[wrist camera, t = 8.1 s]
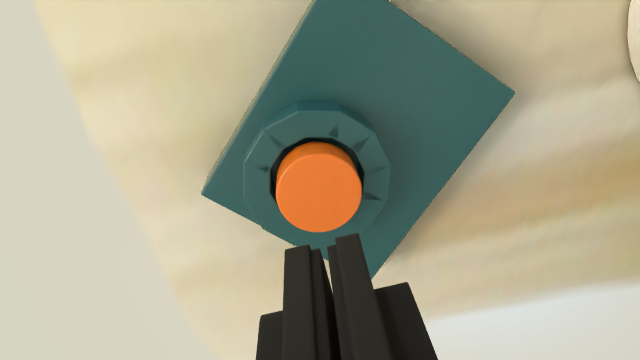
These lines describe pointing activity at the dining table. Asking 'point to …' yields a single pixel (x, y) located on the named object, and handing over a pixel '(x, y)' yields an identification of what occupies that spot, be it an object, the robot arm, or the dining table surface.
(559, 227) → the dining table surface
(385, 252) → the button base
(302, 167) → the orange button cap
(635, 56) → the robot arm
